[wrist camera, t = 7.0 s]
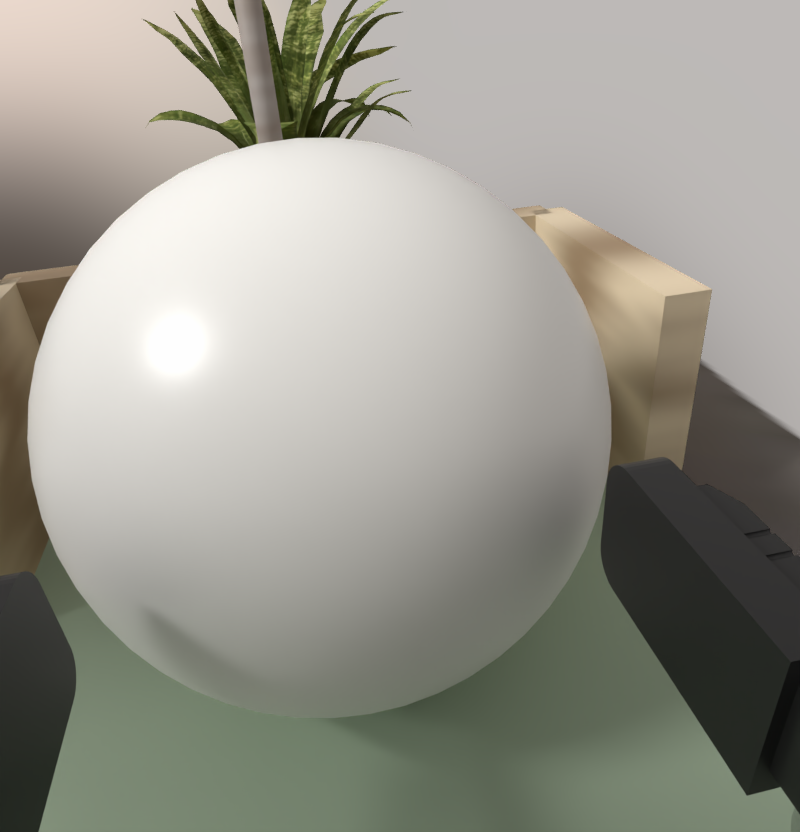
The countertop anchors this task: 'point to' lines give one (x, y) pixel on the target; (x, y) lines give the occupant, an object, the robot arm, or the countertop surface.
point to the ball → (319, 427)
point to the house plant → (283, 72)
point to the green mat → (404, 742)
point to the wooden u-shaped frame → (559, 228)
